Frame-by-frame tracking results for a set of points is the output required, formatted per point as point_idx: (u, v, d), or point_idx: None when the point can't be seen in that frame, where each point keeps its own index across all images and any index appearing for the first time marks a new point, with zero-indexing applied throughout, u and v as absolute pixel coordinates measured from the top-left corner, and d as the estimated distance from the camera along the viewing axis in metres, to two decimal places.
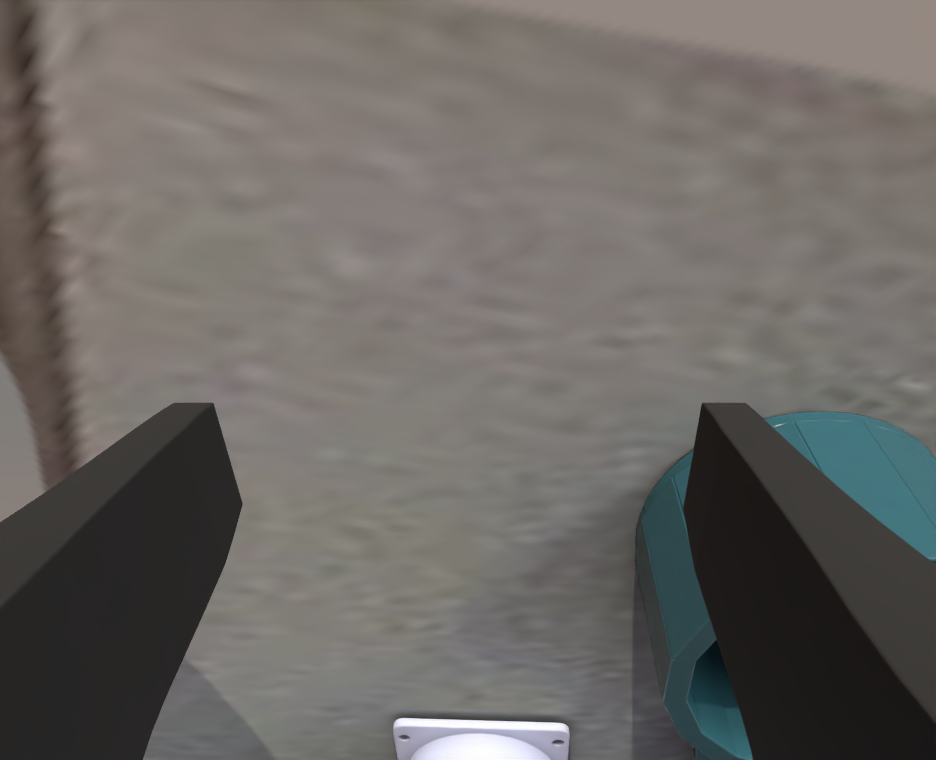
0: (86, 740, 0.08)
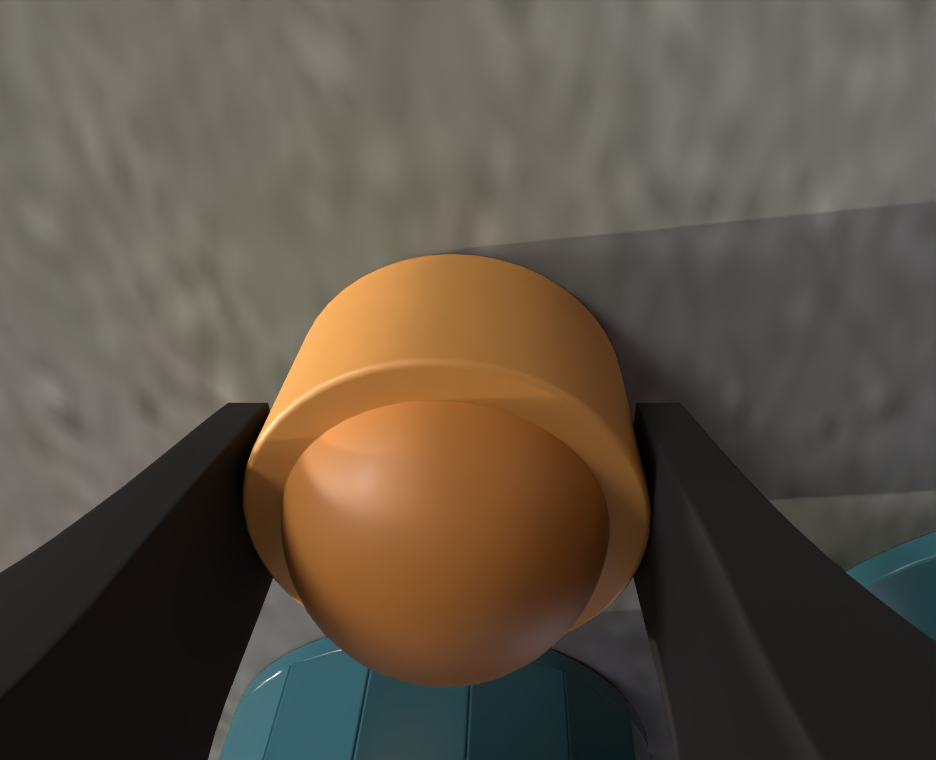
0: (160, 743, 0.08)
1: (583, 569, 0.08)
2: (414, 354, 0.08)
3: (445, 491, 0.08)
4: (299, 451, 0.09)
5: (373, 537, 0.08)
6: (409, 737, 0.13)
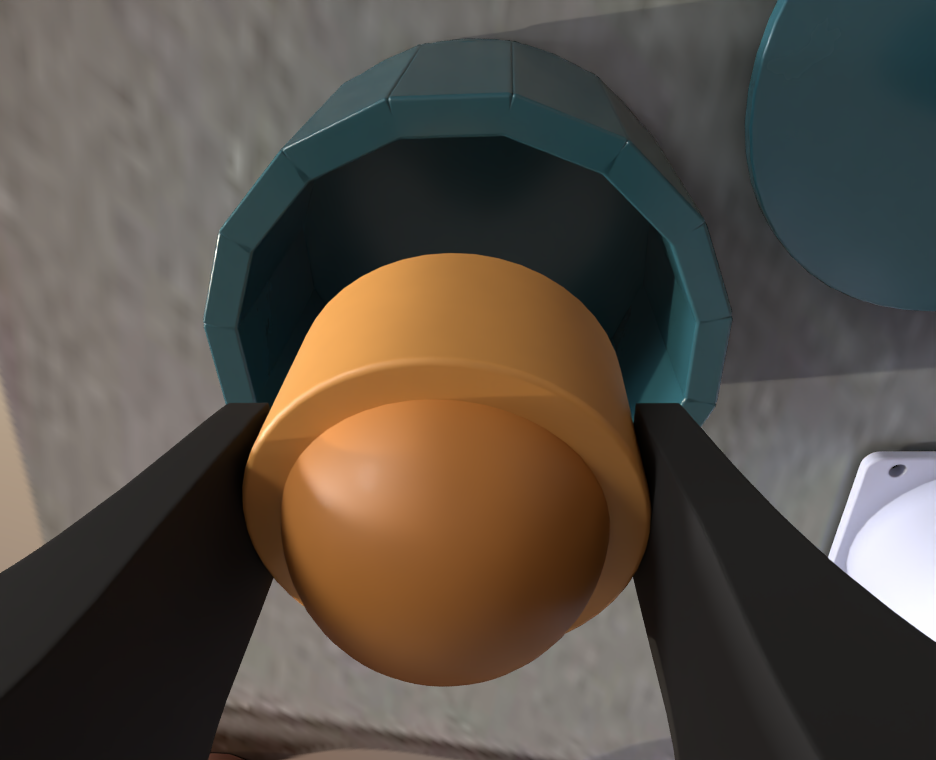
0: (160, 742, 0.08)
1: (583, 568, 0.08)
2: (414, 353, 0.08)
3: (445, 490, 0.08)
4: (299, 450, 0.09)
5: (373, 536, 0.08)
6: (459, 57, 0.14)
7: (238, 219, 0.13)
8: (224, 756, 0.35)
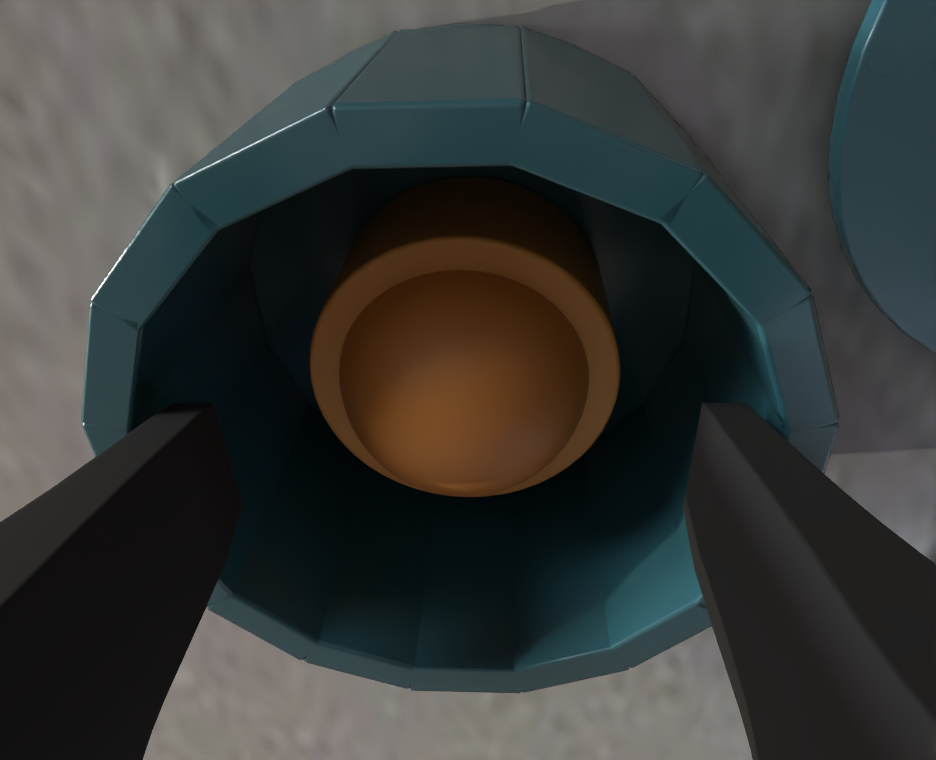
0: (86, 740, 0.08)
1: (568, 396, 0.11)
2: (443, 234, 0.11)
3: (467, 328, 0.10)
4: (355, 313, 0.12)
5: (415, 362, 0.11)
6: (447, 46, 0.10)
7: (116, 284, 0.09)
8: None
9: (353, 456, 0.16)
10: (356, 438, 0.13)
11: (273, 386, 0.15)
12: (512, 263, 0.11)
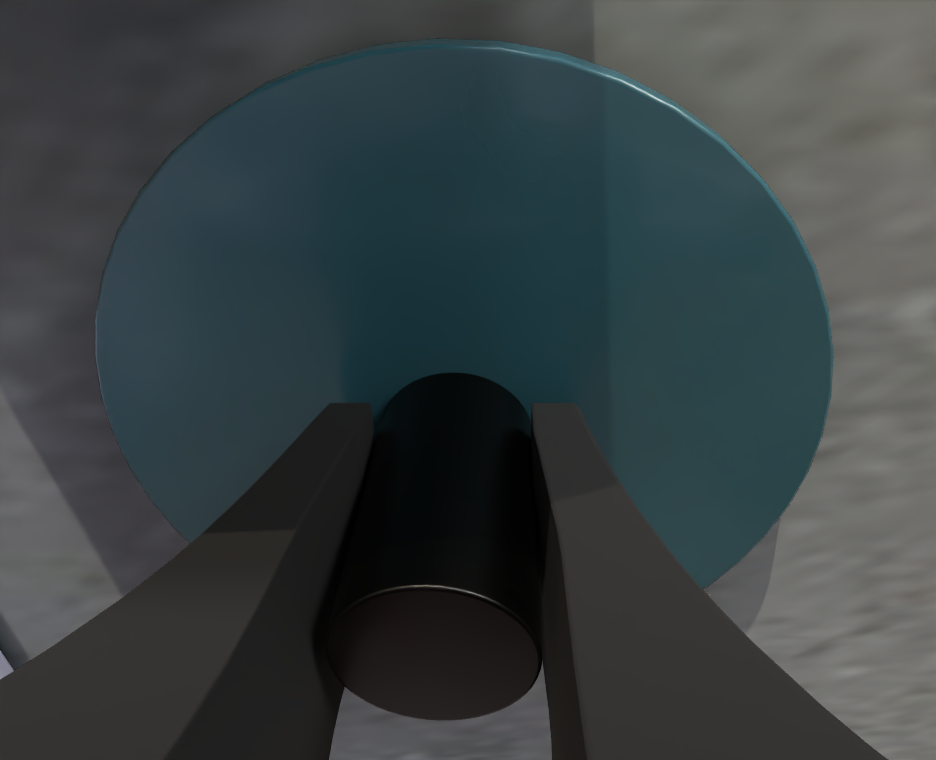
0: (298, 747, 0.07)
1: None
2: None
3: None
4: None
5: None
6: None
7: None
8: None
9: None
10: None
11: None
12: None
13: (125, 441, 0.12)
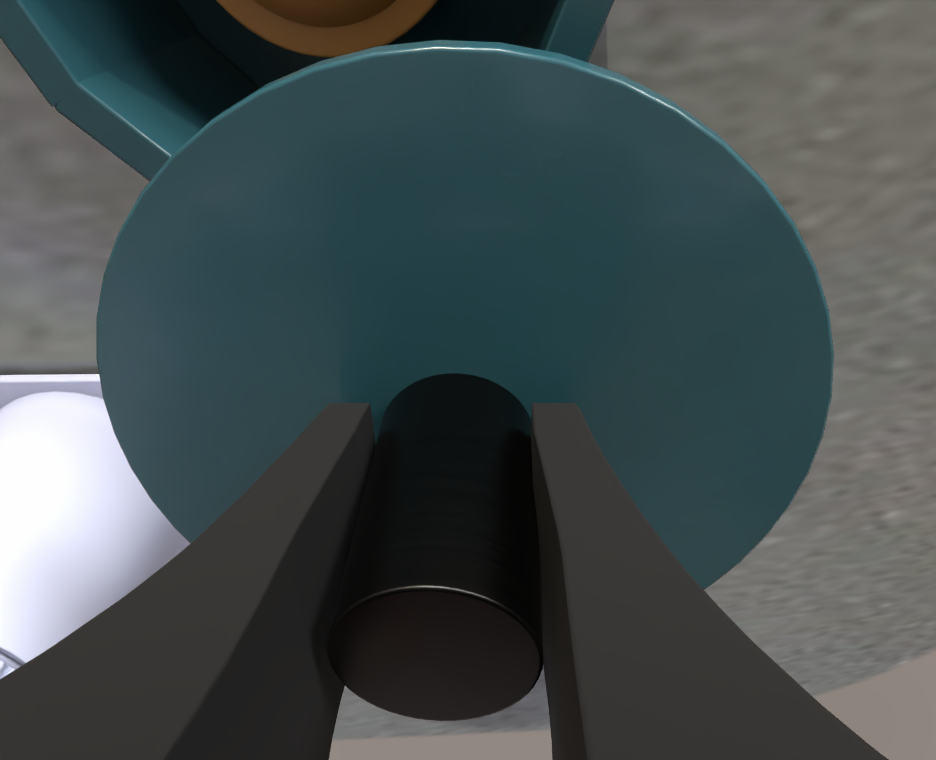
0: (298, 747, 0.07)
1: (338, 6, 0.12)
2: None
3: None
4: None
5: None
6: None
7: None
8: None
9: None
10: None
11: None
12: None
13: (126, 441, 0.12)
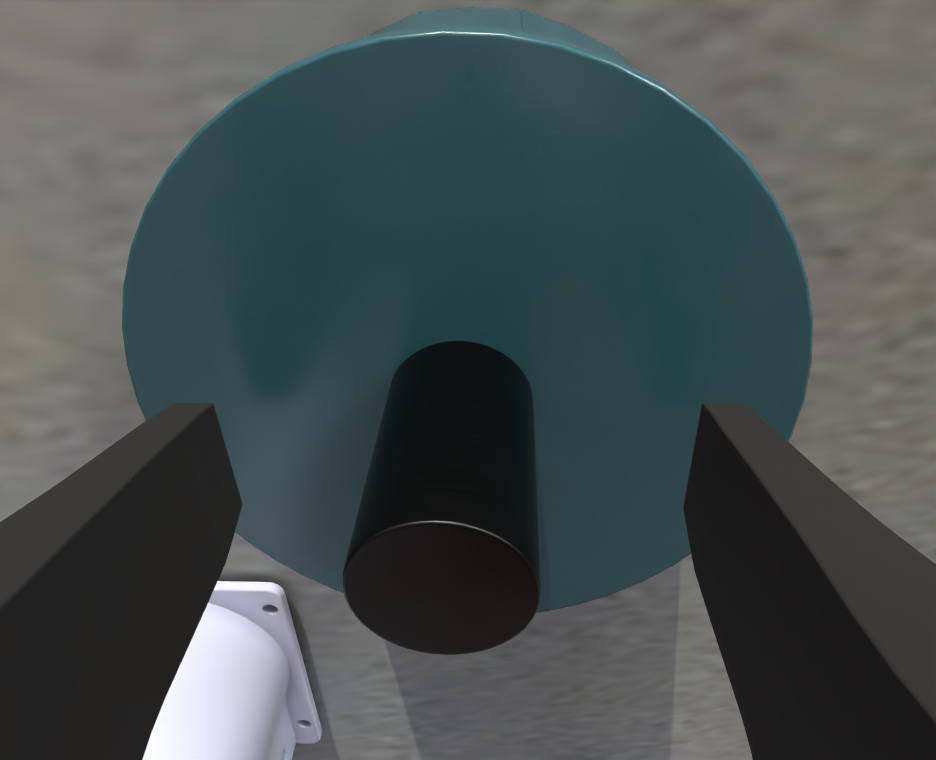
0: (86, 741, 0.08)
1: None
2: None
3: None
4: None
5: None
6: None
7: None
8: None
9: None
10: None
11: None
12: None
13: (148, 408, 0.12)
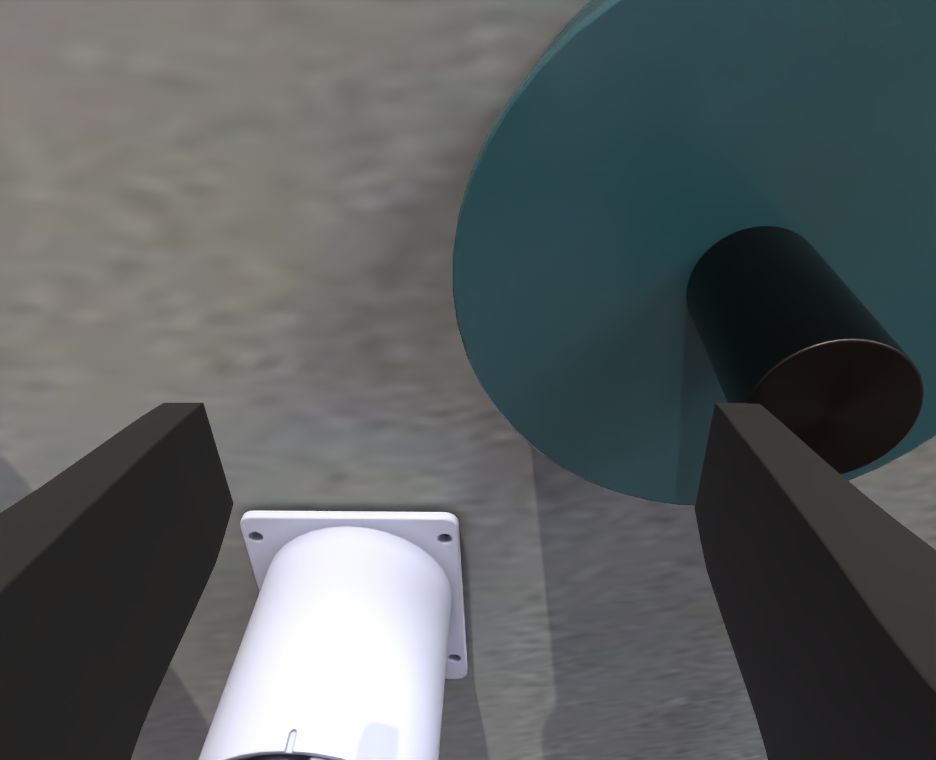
0: (72, 740, 0.08)
1: None
2: None
3: None
4: None
5: None
6: None
7: None
8: None
9: None
10: None
11: None
12: None
13: (462, 299, 0.14)
